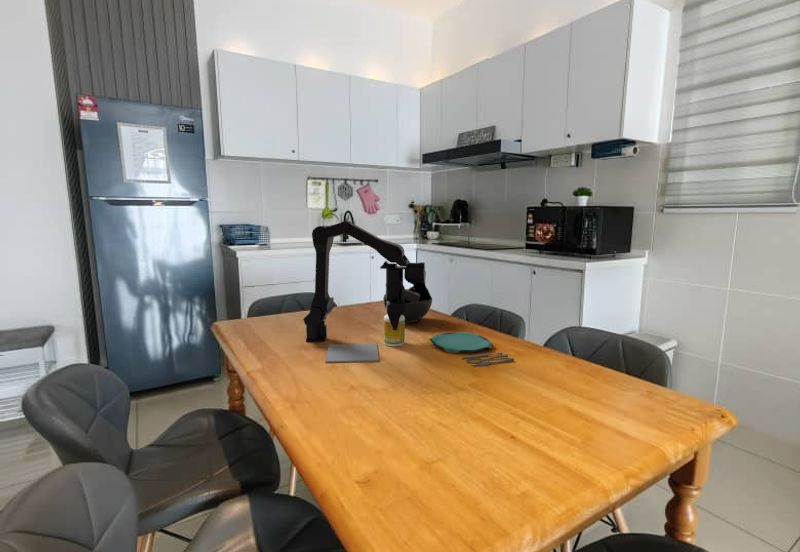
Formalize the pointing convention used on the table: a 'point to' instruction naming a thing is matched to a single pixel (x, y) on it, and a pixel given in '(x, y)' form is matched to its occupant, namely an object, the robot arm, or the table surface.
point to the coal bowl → (418, 304)
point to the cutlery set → (467, 346)
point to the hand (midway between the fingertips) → (394, 327)
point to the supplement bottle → (394, 332)
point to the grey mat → (352, 353)
